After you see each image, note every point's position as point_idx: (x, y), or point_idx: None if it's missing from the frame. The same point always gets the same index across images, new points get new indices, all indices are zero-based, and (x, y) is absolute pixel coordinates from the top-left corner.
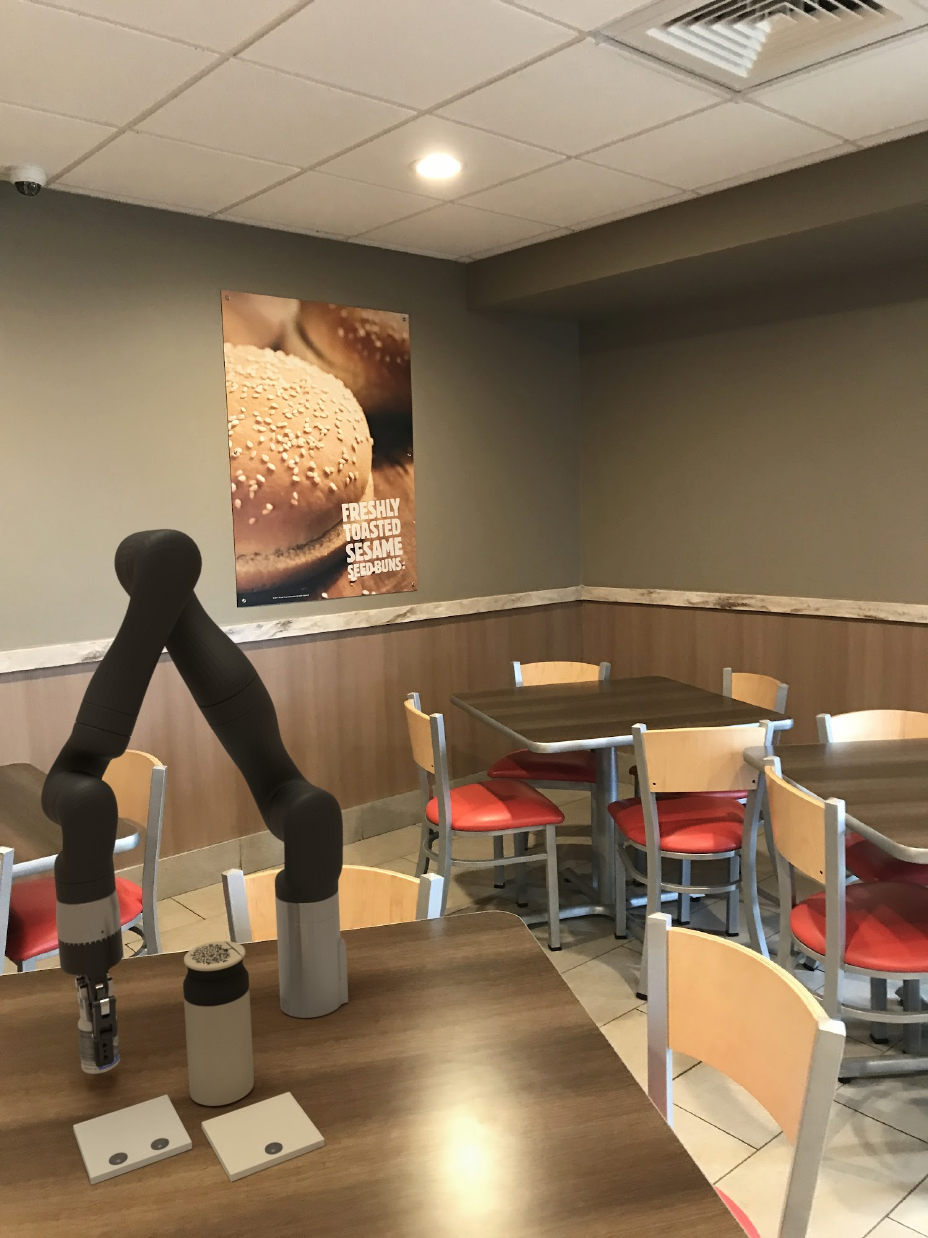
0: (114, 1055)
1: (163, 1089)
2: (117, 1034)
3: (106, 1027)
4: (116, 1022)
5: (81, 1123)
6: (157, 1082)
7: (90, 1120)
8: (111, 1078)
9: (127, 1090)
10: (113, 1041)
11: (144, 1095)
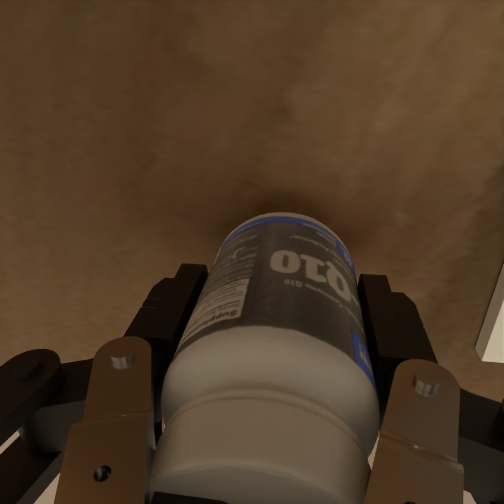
0: (346, 264)
1: (473, 65)
2: (322, 285)
3: (461, 449)
4: (325, 331)
5: (491, 345)
6: (406, 73)
7: (500, 325)
8: (270, 207)
9: (378, 182)
10: (352, 303)
11: (454, 141)
